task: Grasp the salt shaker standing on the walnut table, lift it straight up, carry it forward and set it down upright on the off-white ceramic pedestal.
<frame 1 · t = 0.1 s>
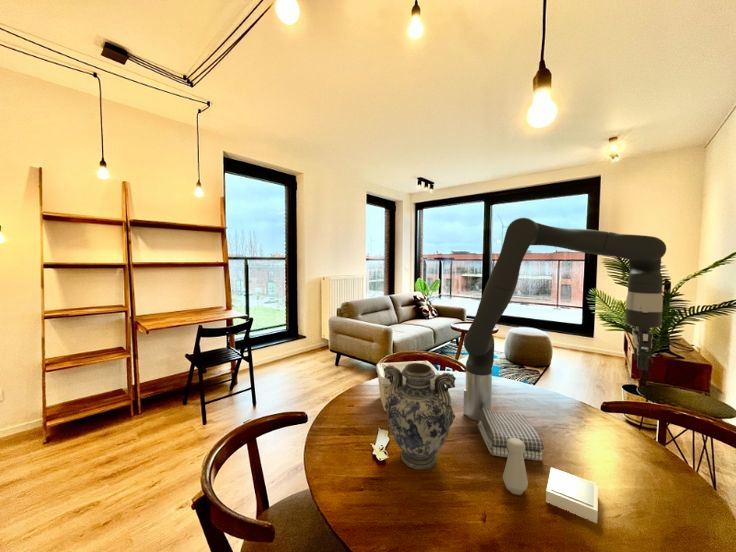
hand: (640, 364, 85), 29 cm above the table, fingers open, 8 cm apart
salt shaker: (515, 489, 78), on the table
cream box: (406, 402, 125), on the table
towel: (507, 443, 98), on the table
decorative vase: (418, 458, 91), on the table
pedestal: (571, 498, 75), on the table
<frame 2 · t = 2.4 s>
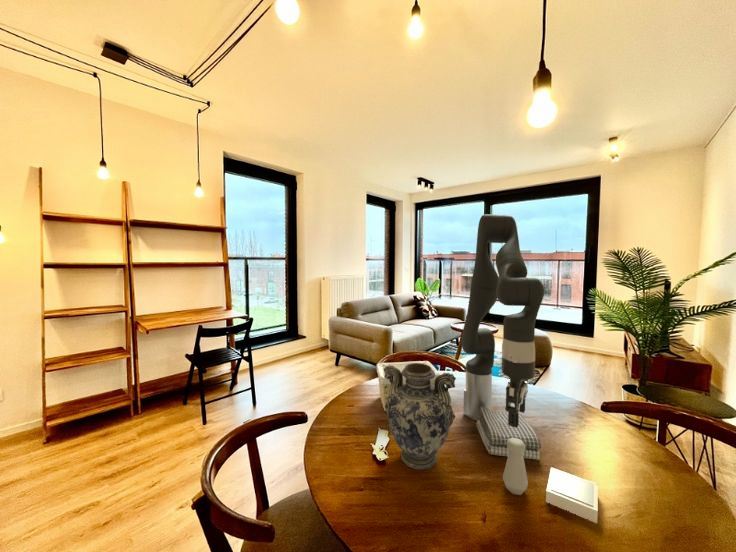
hand: (516, 418, 77), 19 cm above the table, fingers open, 8 cm apart
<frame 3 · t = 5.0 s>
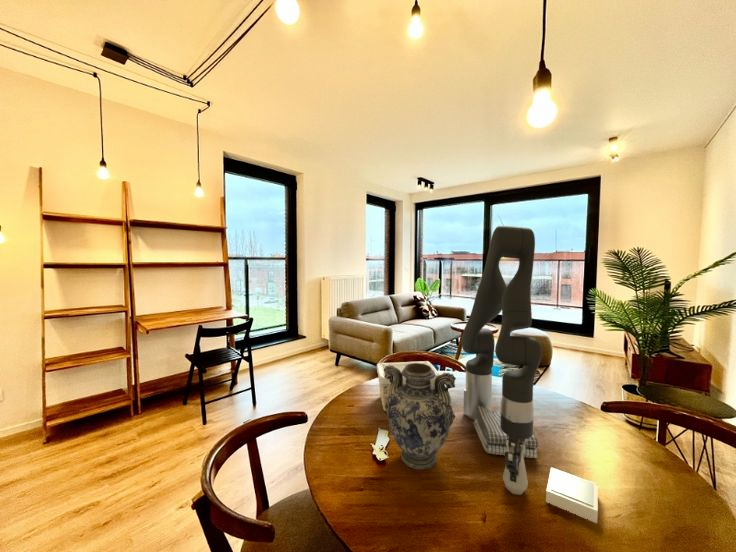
hand: (515, 477, 78), 3 cm above the table, fingers closed on salt shaker, 3 cm apart
salt shaker: (515, 489, 78), on the table, touching gripper
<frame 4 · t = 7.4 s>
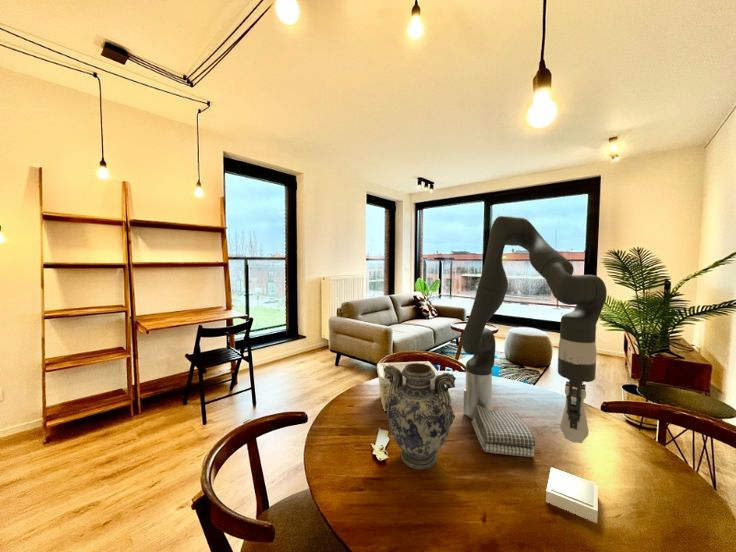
hand: (573, 425, 74), 19 cm above the table, fingers closed on salt shaker, 3 cm apart
salt shaker: (573, 438, 74), point 15 cm above the table, touching gripper
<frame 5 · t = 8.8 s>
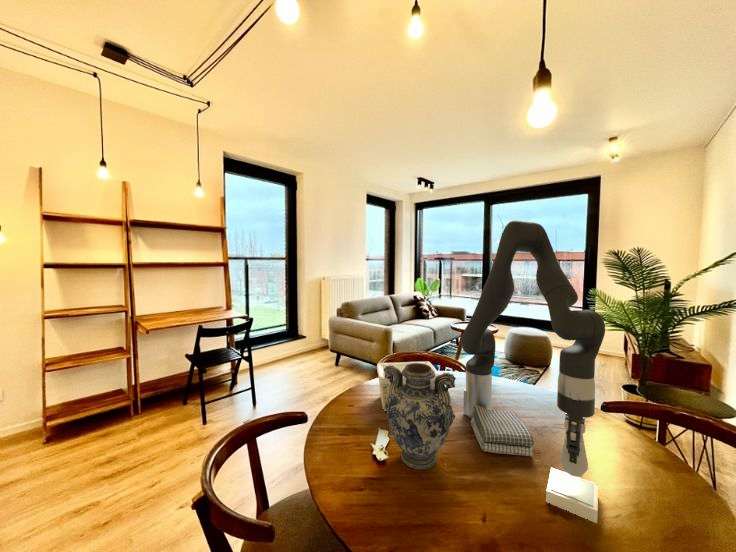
hand: (573, 459, 74), 10 cm above the table, fingers closed on salt shaker, 3 cm apart
salt shaker: (573, 472, 74), point 7 cm above the table, touching gripper
when the fingers open (7 cm above the table, at t = 10.0 s): salt shaker stays where it is, resting on pedestal.
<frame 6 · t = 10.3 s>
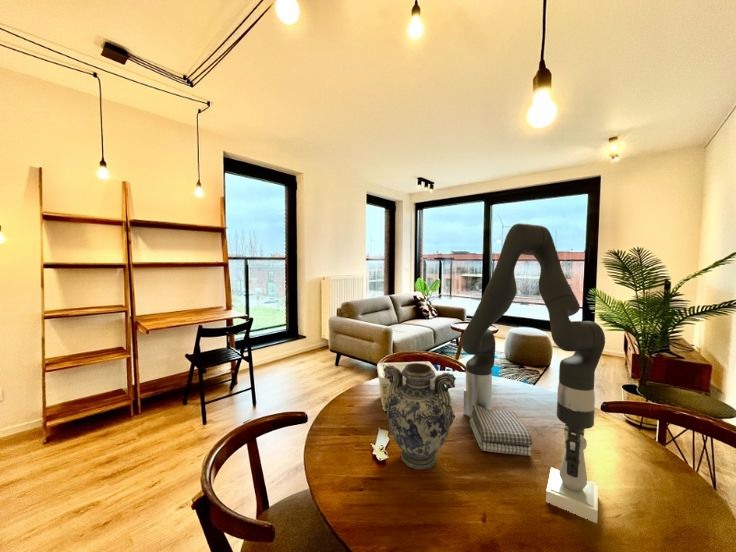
hand: (572, 468, 74), 8 cm above the table, fingers open, 5 cm apart
salt shaker: (572, 486, 75), point 3 cm above the table, touching pedestal
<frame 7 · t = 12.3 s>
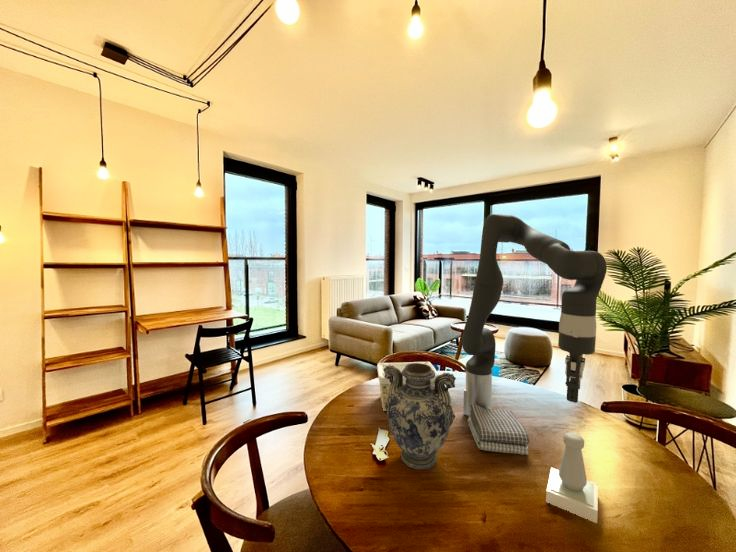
hand: (573, 394, 76), 25 cm above the table, fingers open, 8 cm apart
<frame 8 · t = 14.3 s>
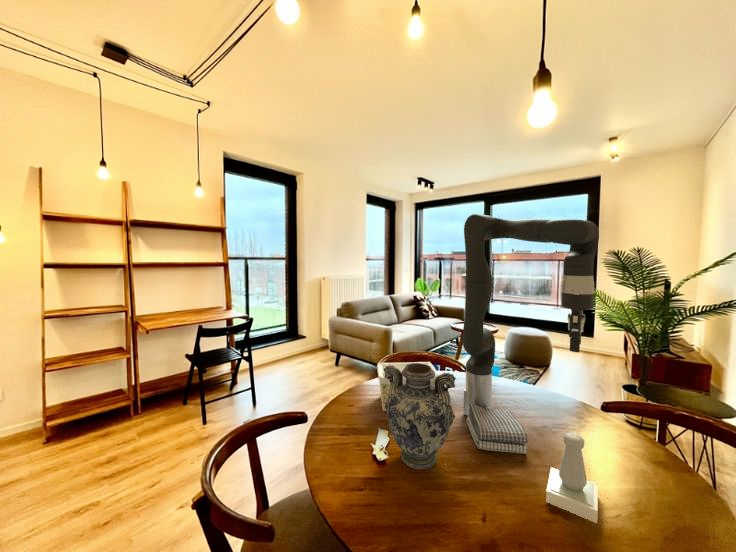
hand: (575, 347, 86), 34 cm above the table, fingers open, 8 cm apart
at the end: salt shaker inside the target area on the pedestal (0.1 cm from its centre), point 3.1 cm above the pedestal's base; salt shaker tilted 0°; the gripper is holding nothing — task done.
